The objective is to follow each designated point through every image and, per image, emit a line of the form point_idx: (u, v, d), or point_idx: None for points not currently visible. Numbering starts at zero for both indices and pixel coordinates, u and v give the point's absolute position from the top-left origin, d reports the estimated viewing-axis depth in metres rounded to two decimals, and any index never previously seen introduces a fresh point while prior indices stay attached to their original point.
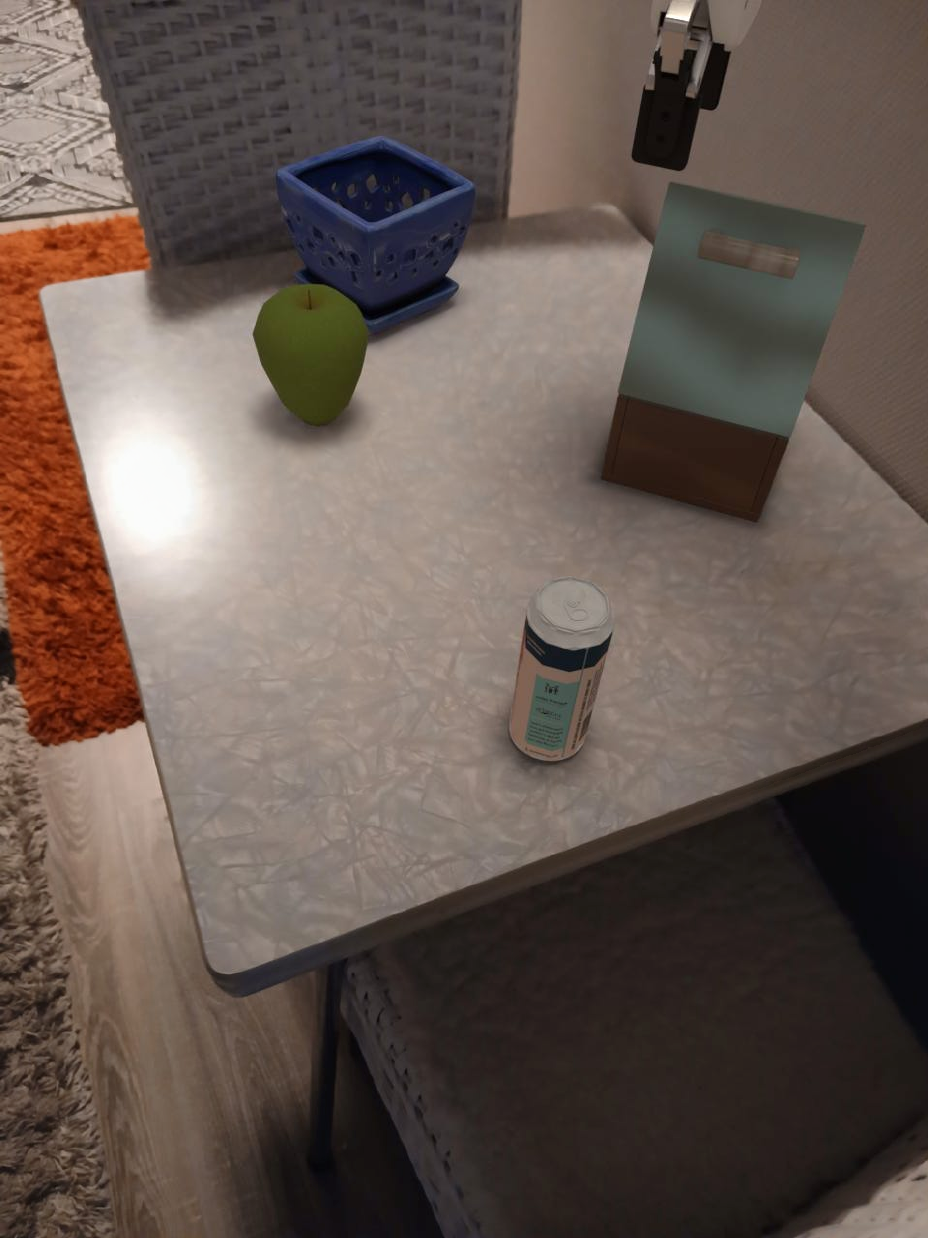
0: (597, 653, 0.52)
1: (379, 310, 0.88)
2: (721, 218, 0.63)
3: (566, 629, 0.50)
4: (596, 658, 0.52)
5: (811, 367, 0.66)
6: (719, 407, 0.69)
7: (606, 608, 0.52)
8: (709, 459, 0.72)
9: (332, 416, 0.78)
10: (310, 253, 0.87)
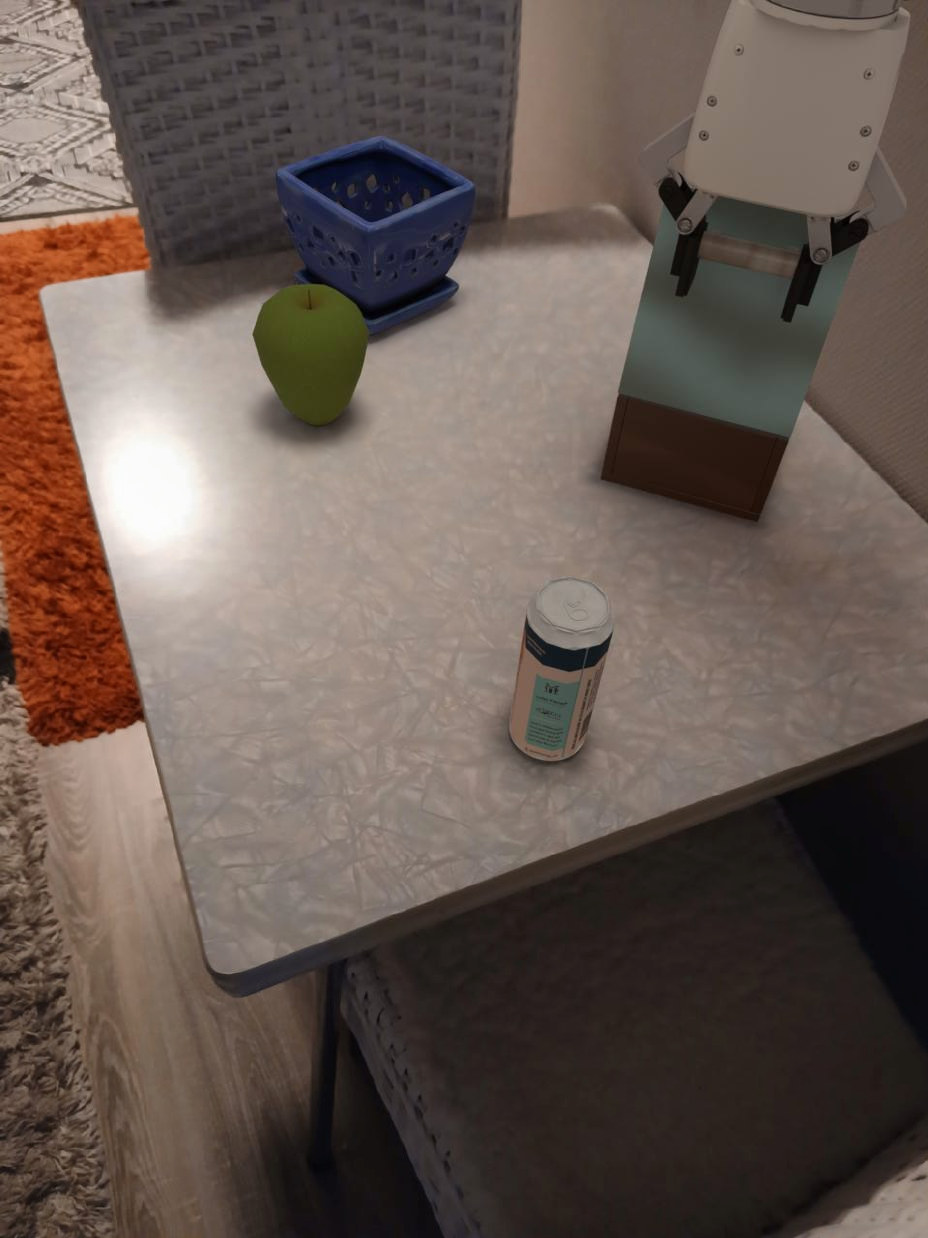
0: (598, 653, 0.52)
1: (379, 310, 0.88)
2: (721, 218, 0.63)
3: (566, 628, 0.50)
4: (596, 658, 0.52)
5: (811, 367, 0.66)
6: (719, 407, 0.69)
7: (606, 608, 0.52)
8: (709, 459, 0.72)
9: (332, 416, 0.78)
10: (310, 253, 0.87)
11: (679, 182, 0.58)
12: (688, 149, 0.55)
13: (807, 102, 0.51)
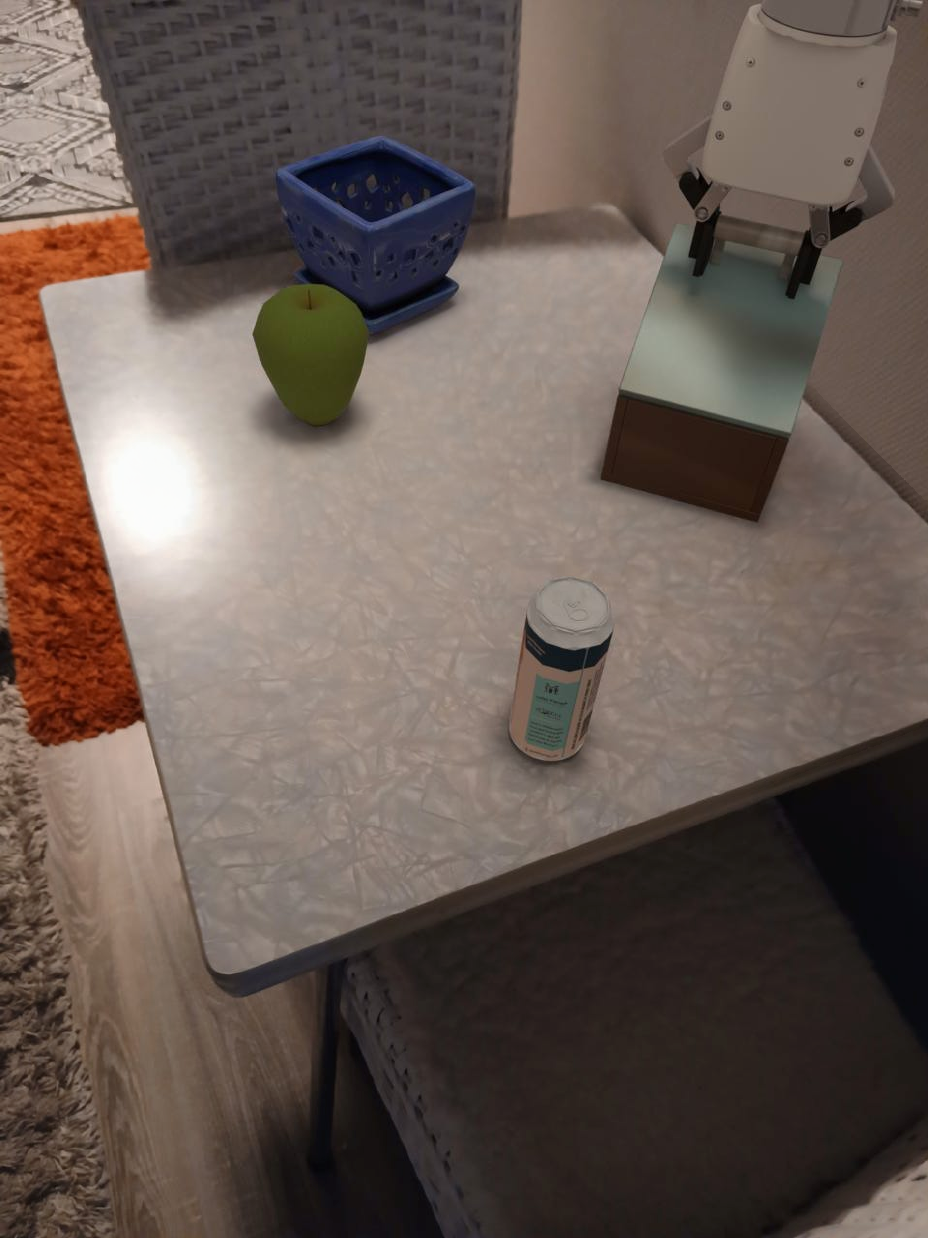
0: (598, 653, 0.52)
1: (379, 310, 0.88)
2: None
3: (566, 628, 0.50)
4: (596, 658, 0.52)
5: (807, 369, 0.69)
6: (721, 404, 0.70)
7: (606, 608, 0.52)
8: (709, 459, 0.72)
9: (332, 416, 0.78)
10: (310, 253, 0.87)
11: (697, 176, 0.67)
12: (706, 147, 0.64)
13: (809, 107, 0.60)
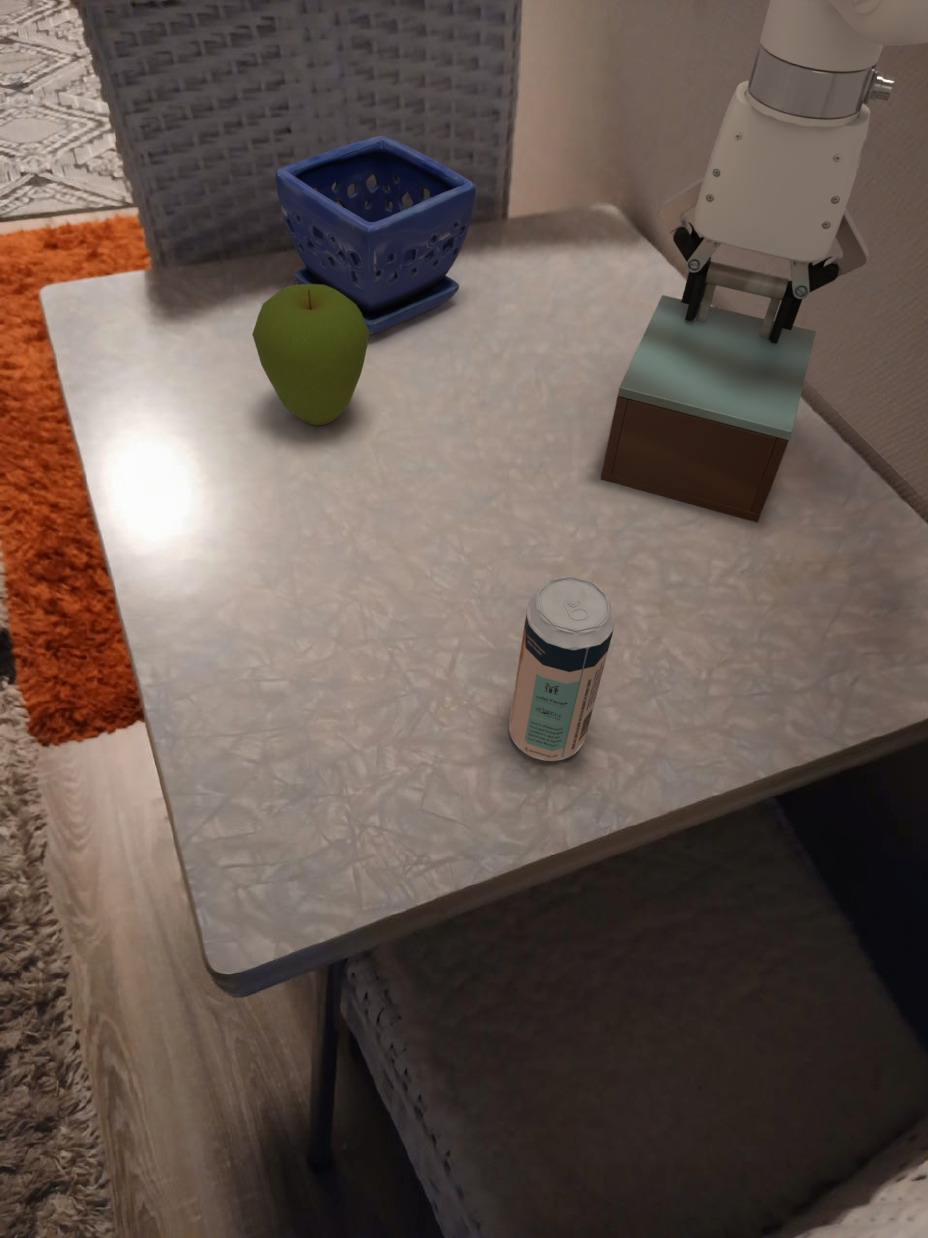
0: (598, 653, 0.52)
1: (379, 310, 0.88)
2: None
3: (566, 628, 0.50)
4: (596, 658, 0.52)
5: (797, 391, 0.72)
6: (720, 406, 0.70)
7: (606, 608, 0.52)
8: (709, 459, 0.72)
9: (332, 416, 0.78)
10: (310, 253, 0.87)
11: (690, 231, 0.73)
12: (697, 207, 0.70)
13: (790, 177, 0.66)
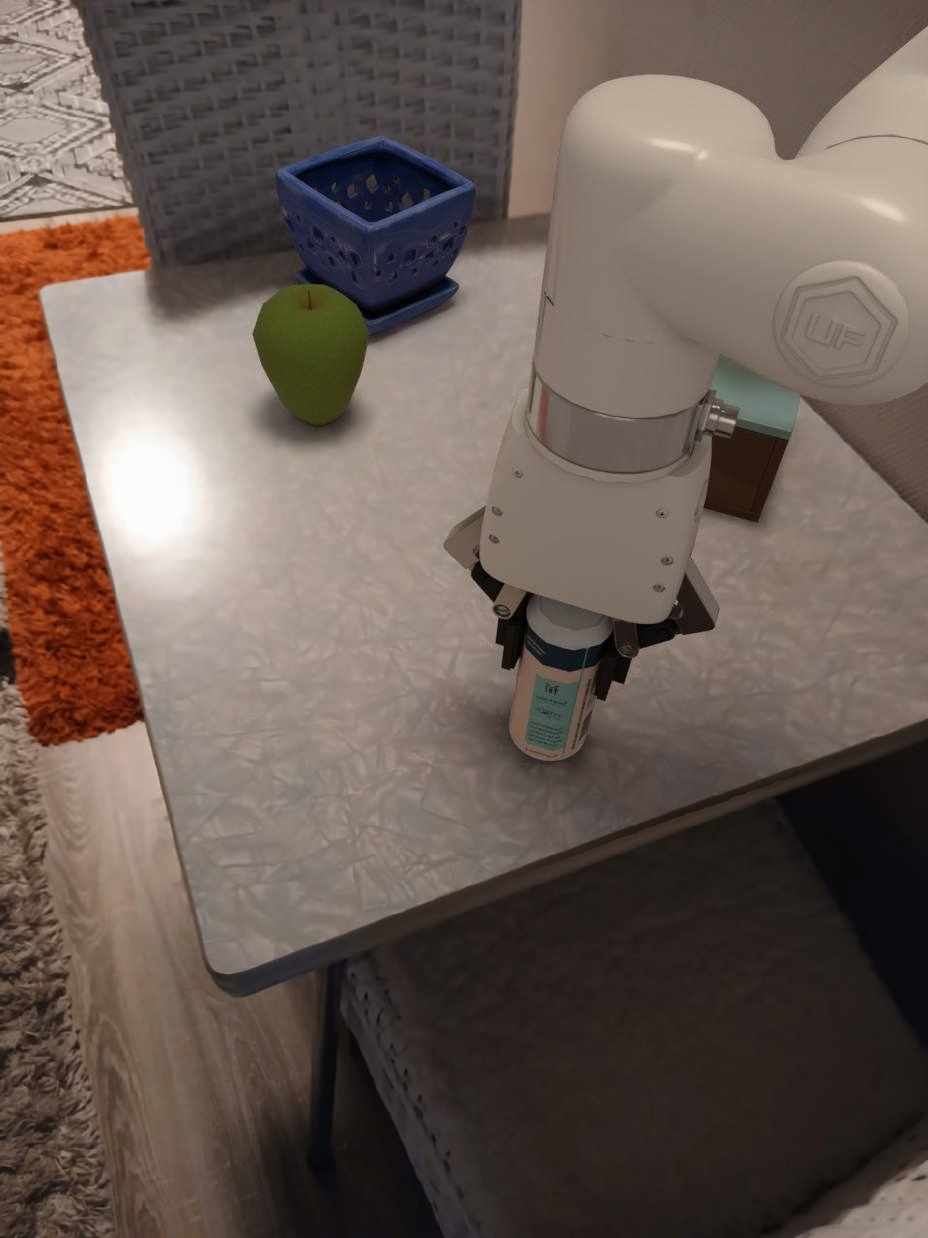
0: (597, 653, 0.52)
1: (379, 310, 0.88)
2: None
3: (566, 628, 0.50)
4: (596, 658, 0.52)
5: None
6: None
7: None
8: None
9: (332, 416, 0.78)
10: (310, 253, 0.87)
11: None
12: (481, 546, 0.48)
13: (598, 530, 0.44)
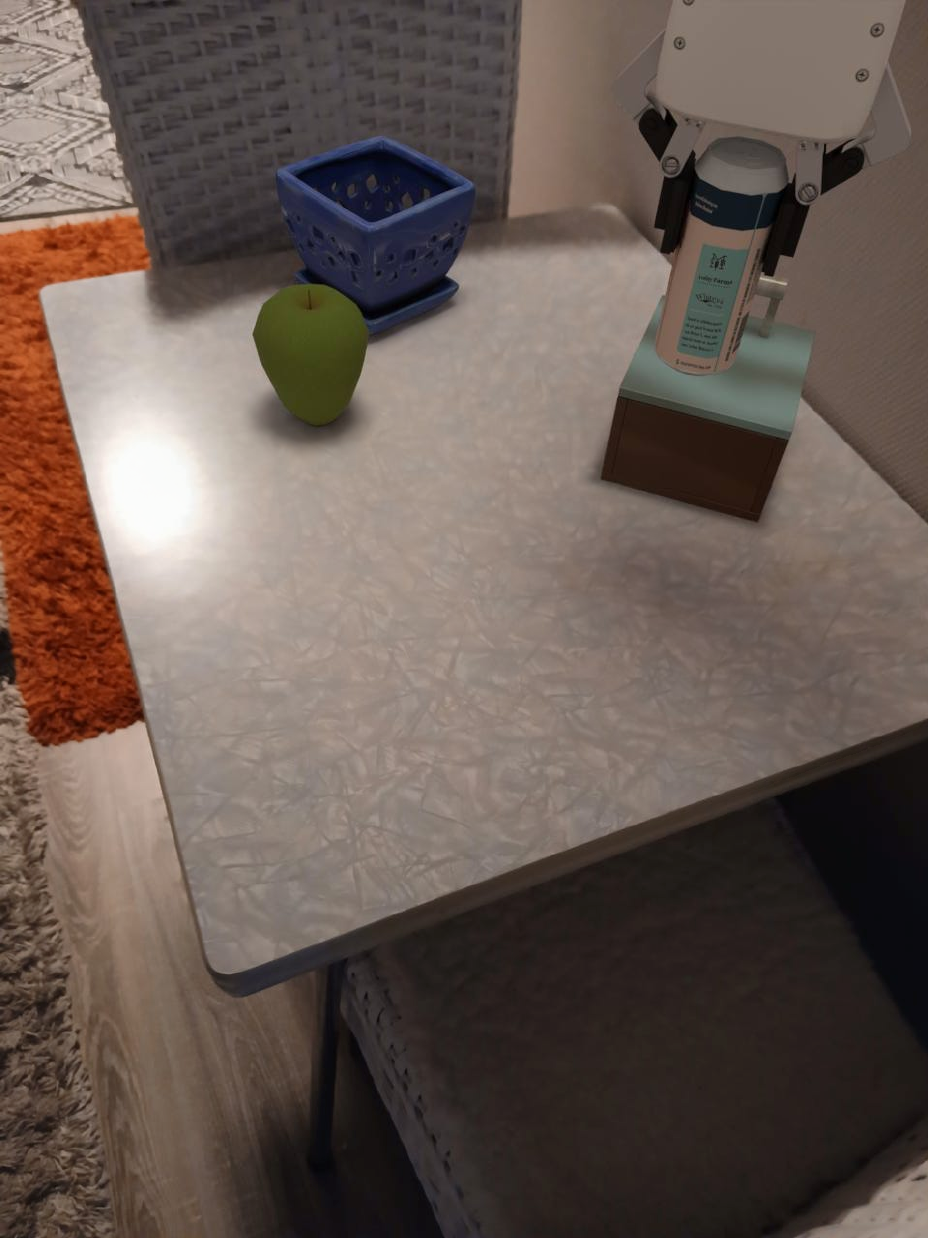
0: (772, 206, 0.49)
1: (379, 310, 0.88)
2: None
3: (745, 168, 0.48)
4: (770, 215, 0.49)
5: (798, 391, 0.72)
6: (720, 406, 0.70)
7: (781, 158, 0.49)
8: (709, 459, 0.72)
9: (332, 416, 0.78)
10: (310, 253, 0.87)
11: (662, 113, 0.49)
12: (661, 62, 0.46)
13: None
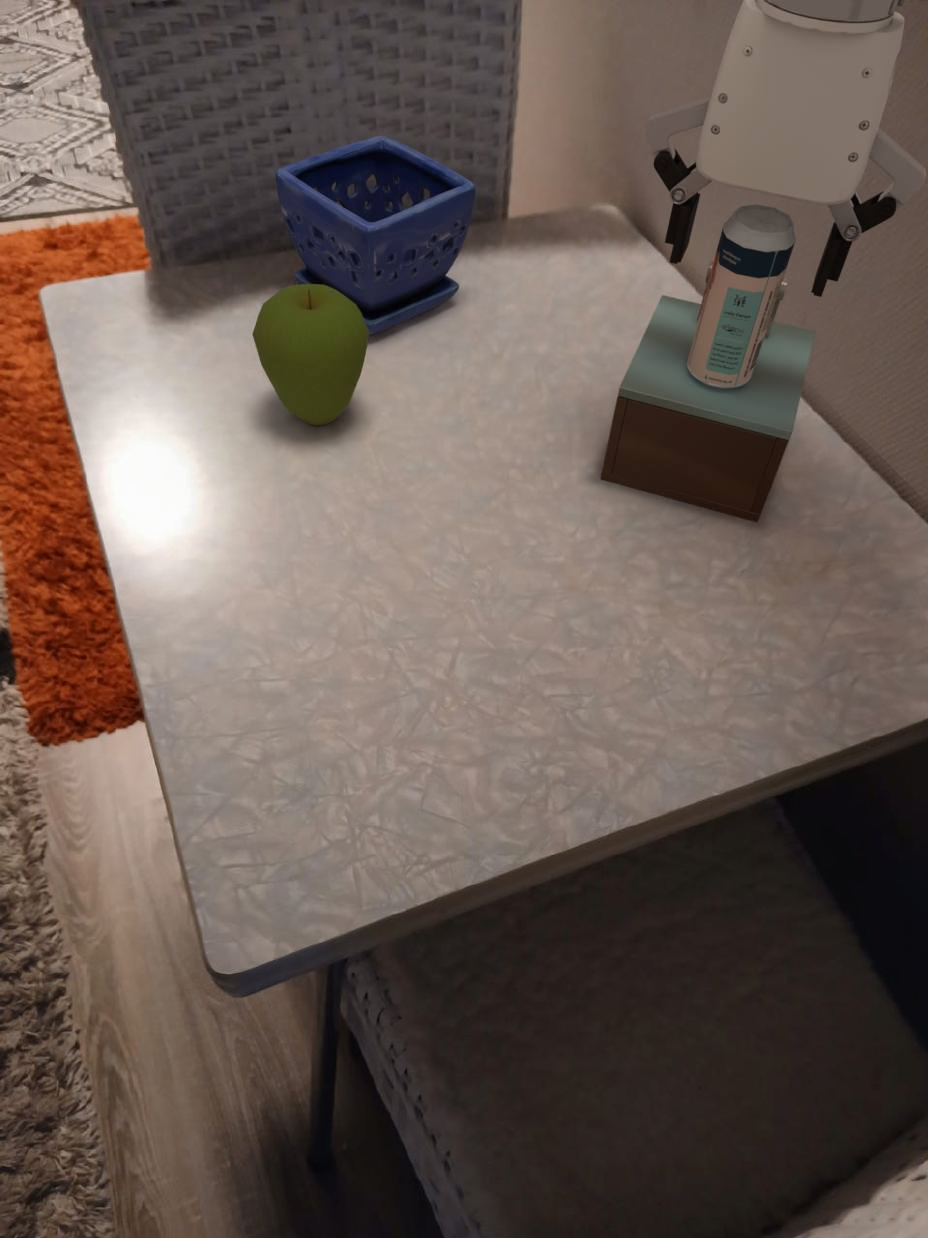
0: (783, 259, 0.64)
1: (379, 310, 0.88)
2: None
3: (762, 232, 0.63)
4: (780, 266, 0.64)
5: (797, 391, 0.72)
6: (720, 406, 0.70)
7: (790, 223, 0.64)
8: (709, 459, 0.72)
9: (332, 416, 0.78)
10: (310, 253, 0.87)
11: (673, 158, 0.63)
12: (701, 142, 0.60)
13: (810, 98, 0.56)
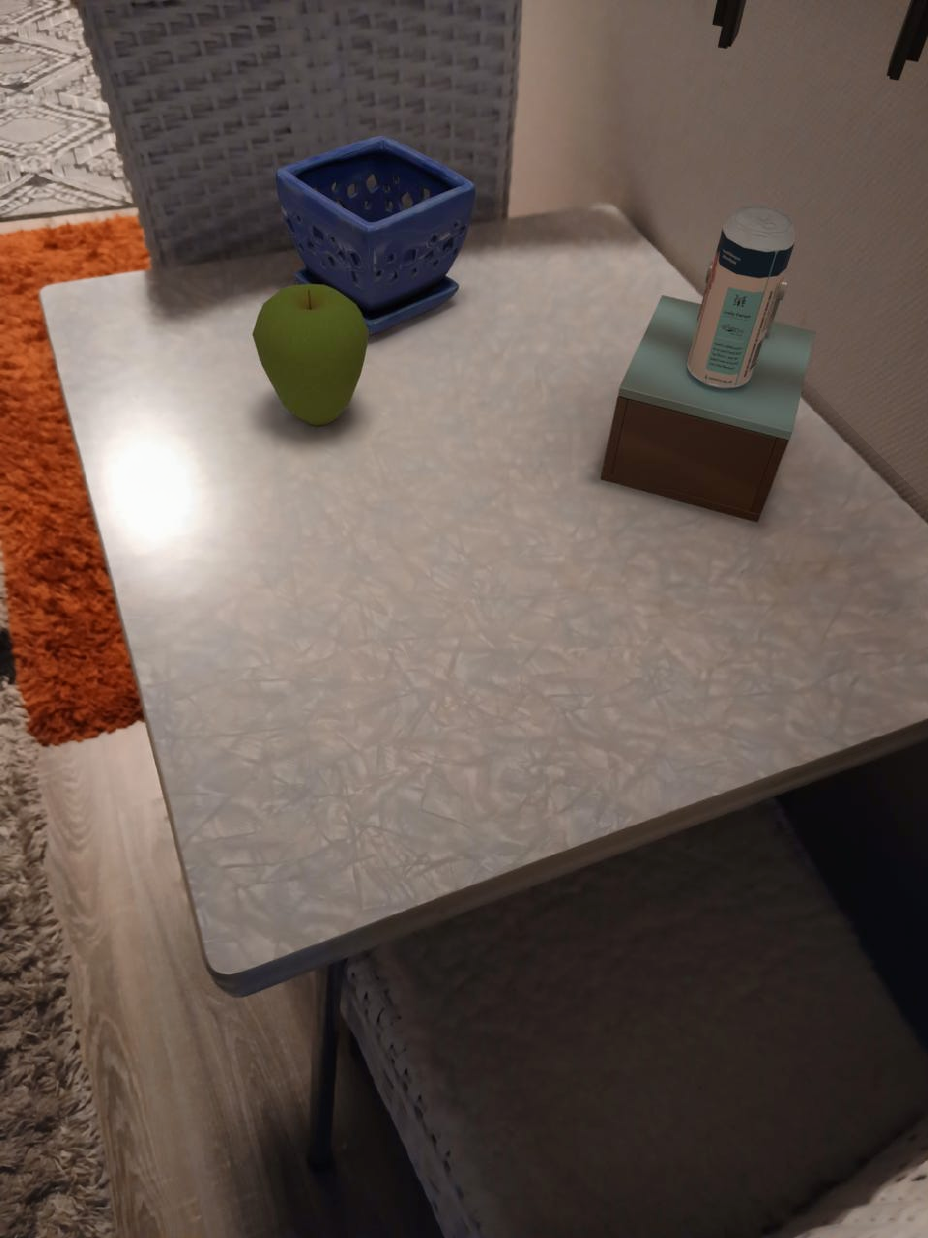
0: (783, 259, 0.64)
1: (379, 310, 0.88)
2: None
3: (762, 232, 0.63)
4: (780, 266, 0.64)
5: (797, 391, 0.72)
6: (720, 406, 0.70)
7: (790, 223, 0.64)
8: (709, 459, 0.72)
9: (332, 416, 0.78)
10: (310, 253, 0.87)
11: None
12: None
13: None
